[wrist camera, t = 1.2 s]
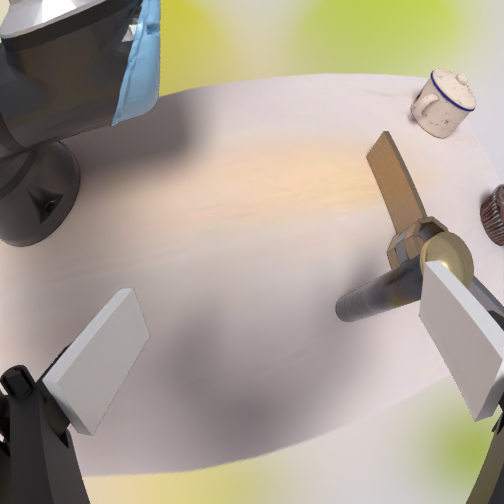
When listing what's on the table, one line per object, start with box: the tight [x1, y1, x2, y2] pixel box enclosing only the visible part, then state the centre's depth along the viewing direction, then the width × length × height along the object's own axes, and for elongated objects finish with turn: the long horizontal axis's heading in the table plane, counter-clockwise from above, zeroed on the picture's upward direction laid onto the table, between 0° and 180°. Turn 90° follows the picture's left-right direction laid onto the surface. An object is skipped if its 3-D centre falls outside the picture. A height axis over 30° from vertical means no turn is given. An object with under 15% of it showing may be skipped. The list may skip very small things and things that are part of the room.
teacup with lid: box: [411, 69, 476, 138], centre depth 40 cm, size 12×9×12 cm
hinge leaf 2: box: [395, 226, 504, 317], centre depth 33 cm, size 18×6×6 cm, turn 53°
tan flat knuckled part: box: [366, 131, 449, 270], centre depth 35 cm, size 18×6×6 cm, turn 13°
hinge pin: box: [336, 232, 474, 322], centre depth 25 cm, size 4×4×18 cm
